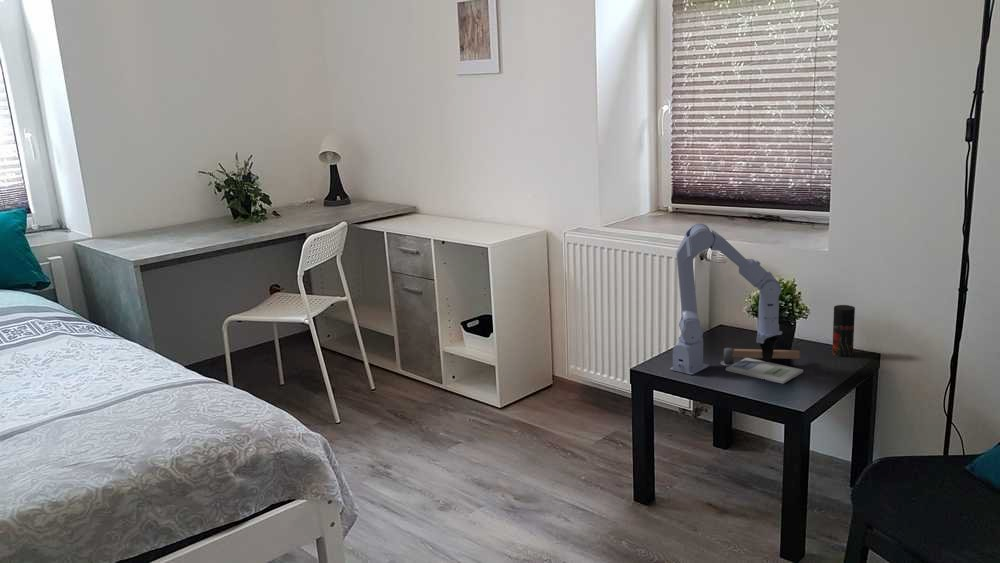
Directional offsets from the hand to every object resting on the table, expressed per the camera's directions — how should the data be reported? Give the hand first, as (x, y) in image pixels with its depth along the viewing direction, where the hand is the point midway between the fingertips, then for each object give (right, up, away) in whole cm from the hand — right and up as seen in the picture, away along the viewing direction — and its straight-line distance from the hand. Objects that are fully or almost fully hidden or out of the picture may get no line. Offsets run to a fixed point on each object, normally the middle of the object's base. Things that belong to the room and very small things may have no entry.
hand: (767, 359), depth 247 cm
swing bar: (-1, -1, +3) cm, 3 cm away
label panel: (-4, -3, -1) cm, 5 cm away
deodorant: (+26, +1, +8) cm, 27 cm away
